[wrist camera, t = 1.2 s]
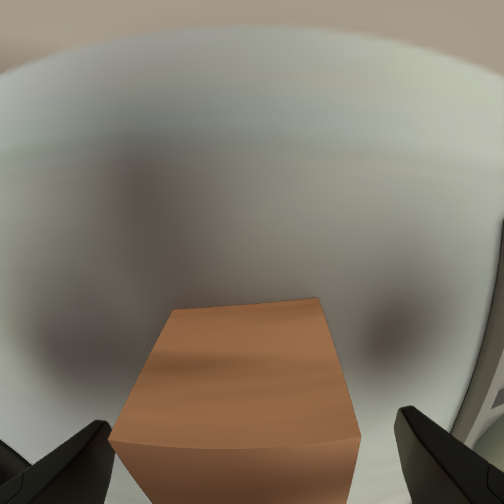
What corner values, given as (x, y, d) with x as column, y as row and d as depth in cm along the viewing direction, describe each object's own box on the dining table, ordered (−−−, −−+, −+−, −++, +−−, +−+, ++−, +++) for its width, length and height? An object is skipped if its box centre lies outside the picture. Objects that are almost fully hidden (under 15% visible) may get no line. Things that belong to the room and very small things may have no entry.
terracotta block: (319, 402, 12) (339, 527, 6) (201, 409, 12) (174, 529, 7) (318, 296, 11) (361, 436, 5) (173, 309, 11) (107, 439, 5)
